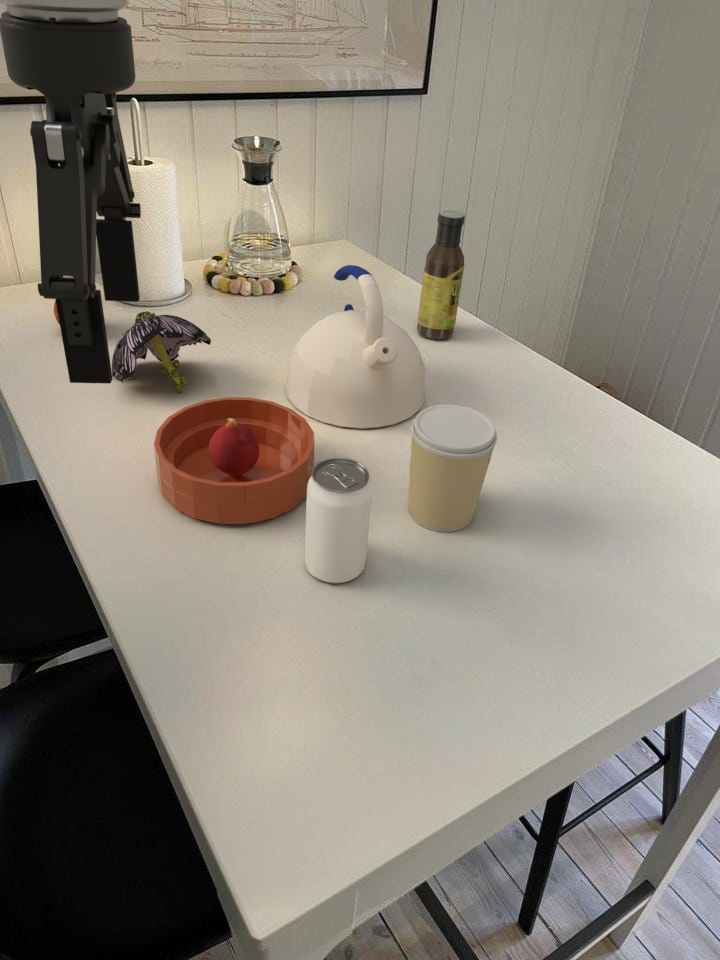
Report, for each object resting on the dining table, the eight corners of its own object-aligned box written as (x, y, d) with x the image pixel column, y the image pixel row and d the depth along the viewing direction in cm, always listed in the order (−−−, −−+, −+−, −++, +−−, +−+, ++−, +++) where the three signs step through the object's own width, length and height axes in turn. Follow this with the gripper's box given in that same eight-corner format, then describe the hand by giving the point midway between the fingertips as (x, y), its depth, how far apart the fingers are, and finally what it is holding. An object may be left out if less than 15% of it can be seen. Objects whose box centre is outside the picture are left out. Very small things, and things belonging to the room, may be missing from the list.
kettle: (307, 439, 99) (312, 311, 88) (270, 365, 114) (270, 248, 103) (448, 421, 105) (468, 299, 94) (394, 352, 120) (407, 241, 109)
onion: (258, 459, 93) (257, 404, 88) (261, 488, 89) (260, 431, 84) (210, 461, 92) (206, 406, 87) (210, 490, 88) (207, 433, 83)
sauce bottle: (451, 344, 124) (470, 223, 112) (413, 338, 125) (428, 217, 113) (455, 328, 129) (473, 210, 117) (419, 322, 130) (434, 205, 118)
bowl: (149, 528, 83) (143, 485, 79) (169, 435, 97) (165, 395, 94) (315, 528, 85) (316, 485, 81) (310, 437, 99) (311, 398, 95)
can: (337, 536, 84) (343, 447, 77) (377, 567, 80) (387, 477, 73) (292, 560, 80) (293, 470, 73) (331, 595, 77) (337, 503, 69)
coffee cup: (496, 521, 88) (516, 436, 81) (432, 546, 83) (447, 458, 76) (447, 478, 94) (462, 395, 87) (385, 500, 90) (395, 414, 82)
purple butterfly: (184, 288, 111) (199, 300, 97) (214, 361, 116) (232, 382, 102) (89, 324, 108) (90, 342, 95) (124, 397, 113) (130, 424, 100)
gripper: (89, 47, 35) (135, 425, 48) (155, -3, 55) (175, 274, 68) (-81, 34, 34) (12, 424, 47) (48, -12, 54) (89, 271, 67)
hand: (108, 336), depth 58 cm, fingers open, 13 cm apart
